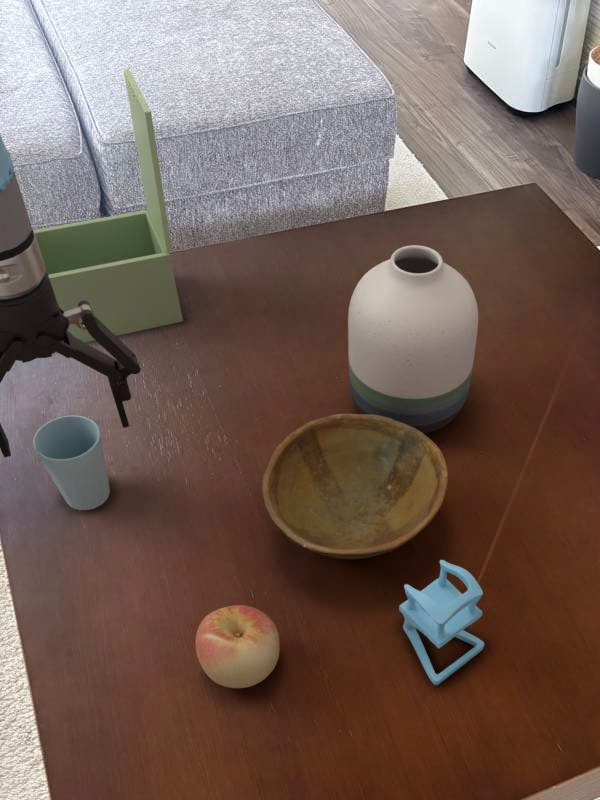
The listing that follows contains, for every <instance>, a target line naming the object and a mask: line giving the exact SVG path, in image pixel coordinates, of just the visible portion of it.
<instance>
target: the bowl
mask: <svg viewBox="0 0 600 800" xmlns="http://www.w3.org/2000/svg"><path fill="white" fill-rule="evenodd" d="M448 480H449V470H448V465H447V461H446V458H445V457H444V455H443V452H442V450H441V449H440V448H439V446H438V445H437V444H436V443H435V442H434V441H433V440H432V439H431V438H429V437H428V436H427V435H426V434H423V433H422V432H420V431H419V430H417V429H415V428H413V427H411V426H409V425H406V424H404V423H401V422H398V421H396V420H393V419H391V418H387V417H383V416H379V415H366V414H362V413H337V414H331V415H329V416H324V417H320V418H316V419H312V420H310V421H308V422H306V423H304V424H303V425H301V426H299V427H298V428H296V429H295V430H293V431H291V432H290V433H289V434H288V435H287V436H286V437H284V439H282V441H281V442H280V443H279V444H278V445H277V446H276V447H275V448H274V451H273V453H272V454H271V456H270V458H269V460H268V464H267V466H266V467H265V470H264V472H263V474H262V477H261V495H262V496H261V497H262V500H263V504H264V506H265V509H266V510H267V511H266V512H267V513H268V516H269V519H270V520H271V522H272V523H273V524H274V525H275V526H276V528H277V529H278V530H279V531H280V533H282V534H283V536H284V537H286V538H287V539H288V540H289V541H291V542H293V543H294V544H296V545H297V546H299V547H300V548H303V549H306V550H307V551H310V552H313V553H315V554H318V555H321V556H324V557H328V558H334V559H342V560H361V559H369V558H373V557H378V556H380V555H384V554H388V553H389V552H393V551H394V550H397V549H398V548H401V547H402V546H403V545H405V544H406V543H408V542H409V541H411V540H413V538H415V537H416V536H417V535H418V534H419V533H421V532H422V531H423V530H424V529H425V528H426V527H427V526H428V525H429V524H430V523H431V522H432V521H433V520H434V519H435V517H436V516H437V514H438V512H440V511H439V510H440V509H441V507H442V505H443V502H444V499H445V496H446V493H447V489H448V485H449V481H448Z"/></svg>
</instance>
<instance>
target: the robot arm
mask: <svg viewBox="0 0 600 800" xmlns="http://www.w3.org/2000/svg"><path fill="white" fill-rule="evenodd" d="M33 230H34V229H33V226H32V223H31V220H30V216H29V214H28V209H27V207H26V204H25V201H24V197H23V193H22V192H21V188H20V185H19V182H18V179H17V175H16V172H15V167H14V161H13V159H12V157H11V154H10V151H9V150H8V148H7V146H6V145H5V142H4V140H3V137H2V135H1V134H0V384H1V383H2V381H3V379H4V378H5V376H6V374H7V373H9V372H10V371H11V369H12V368H13V366H14V364H15V363H16V361H19V362H21V363H22V364H24V363H30V362H32V361H34V360H37V359H47V358H52V357H53V354H55V353H57V354H59V355H61V356H63V357H65V358H67V359H70V358H71V359H74V360H75V361H77V362H79V363H81V364H83V365H84V366H87V367H88V368H90V369H92V370H94V371H96V372H98V373H100V374H102V375H104V376H106V377H107V379H108V383H109V387H110V390H111V394H112V396H113V400H114V403H115V407H116V409H117V413H118V416H119V420H120V423H121V425H122V428H123V429H124V428H129V427H130V423H129V419H128V416H127V412H126V410H125V406H124V402H127V401H130V400H131V399H132V394H131V390H130V387H129V384H128V377H129V376H130V375H138V374H139V373H140V372H141V371H142V370H141V366H140V364H139V363H140V362H139V361H138V358H137V355H136V354H135V353H134V352H133V351H132V349H130V348H129V347H128V346H127V345H126V344H125V343H124V342H123V341H121V339H120V338H118V336H115V335H114V334H113V333H112V332H111V331H110V330H109V329H108V328H107V327H106V326H105V325H104V324H103V323H102V322H101V321H100V320H99V319H98V318H97V317H95V315H94V313H93V311H92V308H91V306H90V304H89V302H87V301H85V300H83V301H80V302H79V303H78V308H75V309H72V310H68V311H65V312H64V311H63V310H62V309H61V308H60V307H59V306H58V303H57V300H56V297H55V294H54V291H53V288H52V285H51V282H50V279H49V276H48V274H47V273H46V267H45V264H44V260H43V257H42V254H41V251H40V248H39V245H38V242H37V239H36V236H35V233H34V231H33ZM69 324H76V325H77V326H78V327H79V328H81V329H82V330H86V329H87V331H88V332H89V334H90V335H91V336H92V337H93V338H94V339H95V340H94V341H96V342H97V344H98V345H100V346H101V347H102V348H103V349H105V350H106V351H107V353H108V354H110V355H111V356H112V357H111V356H110V355H108V354H106V353H104V352H103V351H101V350H99V349H97V348H95V347H94V346H93V345H90V344H88V343H87V342H83V341H81V340H79V339H77V338H75V337H74V336H73V335H72V334H71V333H70V332H69V331H67V330H68V328H69ZM0 451H1V454H2V455H3V458H9V457H12V453H11V447H10V443H9V439H8V437H7V435H6V432H5V430H4V428H3V425H2V423H0Z"/></svg>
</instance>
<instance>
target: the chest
mask: <svg viewBox="0 0 600 800" xmlns="http://www.w3.org/2000/svg"><path fill="white" fill-rule="evenodd" d="M33 231H34V233H35V236H36V239H37V242H38V245H39V248H40V251H41V254H42V257H43V260H44V264H45V267H46V273H47V274H48V276H49V279H50V282H51V285H52V288H53V291H54V294H55V297H56V300H57V303H58V306H59V307H60V308H61V309H62V310H63V311H64V312H65V311H68V310H72V309H75V308H78V303H79V302H80V301H83V300H85V301H87V302H89V304H90V306H91V308H92V311H93V313H94V315H95V317H97V318H98V319H99V320H100V321H101V322H102V323H103V324H104V325H105V326H106V327H107V328H108V329H109V330H110V331H111V332H112V333H113V334H114V335H115V336H116V337H118V336H121V335H126V334H130V333H134V332H135V333H136V332H140V331H144V330H149V329H153V328H158V327H163V326H168V325H172V324H176V323H181V322H184V318H183V314H182V309H181V304H180V299H179V294H178V289H177V283H176V278H175V273H174V268H173V263H172V258H171V254H170V252H167V251H166V249H165V247H164V245H163V242H162V240H161V238H160V236H159V233H158V231H157V229H156V226H155V224H154V222H153V220H152V217H151V215H150V213H149V211H148V209H143V210H137V211H132V212H127V213H121V214H116V215H115V214H114V215H111V216H105V217H104V216H103V217H99V218H94V219H93V218H92V219H88V220H81V221H77V222H71V223H65V224H59V225H54V226H49V227H43V228H37V229H33ZM67 331H69V332H70V333H71V334H72V335H73V336H74V337H75V338H77V339H79V340H81V341H83V342H85V343H89V342H94V341H96V340H95V339H94V338H93V337H92V336H91V335H90V334H89V332H88V331H87V329H86V330H82V329H81V328H79V327H78V326H77V325H76V324H69V328H68V330H67Z"/></svg>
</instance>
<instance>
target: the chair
mask: <svg viewBox="0 0 600 800" xmlns="http://www.w3.org/2000/svg"><path fill="white" fill-rule="evenodd" d="M439 566H440V571H439V577H438V578H436V579H435V580H433V581H432V582H431V583H430V584H428V585H427V586H426V587H424V588H423V589H422V590H419V589H416V588H414V587H412V586H411V585H410V584H408V583H405V584H404V585H403V589H404V591H405V595H406V597H407V600H405V601H404V602H402V603H400V605H398V611H399V612H400V613H401V614H402V616H403V618H404V621H403V625H402V629H403V631H404V632H405V634H406V636H407V637H408V639H409V641H410V643H411V644H412V647H413V649H414V651H415V653H416V655H417V657H418V659H419V661H420V663H421V665H422V667H423V669H424V671H425V673H426V675H427V677H428V678H429V680H430V682H431V683H432V684H433V685H434V686H438V685H440V684H441V683H443V682H444V681H445V680H446V679H447V678H449V677H450V676H451V675H452V674H454V673H456V671H458V670H459V669H460V668H461V667H463V666H464V665H465V664H467V663H468V662H469V661H471V659H473V658H474V657H475V656H477V655H478V654H479V653H480V652H482V651H483V649H484V648H485V642H484V641H483V640H482V639H481V638H478V636H475V635H473V634H471V633H469V632H467V631H465V629H466V628H467V627H468V628H469V626H471V625H473V623H475V622H476V621H478V620H479V619H480V618H482V616H483V611H482V609H480V608H479V607H478V606H477V604H478V602H479V601H480V600H481V598H482V596H483V595H484V592H483V591H484V590H483V589H482V587H481V585H480V584H479V582H478V581H477V580H476V578H475V577H474V575H473V574H471V573H470V572H469V571H468V570H467V569H465V568H464V567H461V566H459V565H455V564H452V563H449V562H448V561H446V560H444V559H440V560H439ZM448 573H449V574H451V575H453V576H455V577H457V578H458V579H459V580H460V581H461V582H462V584H464V585H465V587H466V588H467V590H466V591H465V592H464V593H462V592H461V591H460V590H459V589H457V587H456V586H455V585H454V584H453V583H452V582H450V581H449V579H447V577H448V576H447V574H448ZM417 630H418V631H419V632H421V633H422V634H423V635H424V636H425V637H426V638H427V639H428V640H429V641H430V642H431V643H432V644H434V646H435V647H436V648H437V649H440V648H442V647H443V646H444V645H446V644H447V643H448V642H450V641H451V640H452V639H453V638H456V639H458V640H461V641H463V642H465V643H466V644H467V643H468V644H469V645H472V646H473V647H472V648H471V649H469V651H467V652H466V653H464V654H463V655H462V656H461V657H459V658H458V659H457V660H455V661H454V662H452V663H451V664H450V665H448V666H447V667H446V668H444V669H443V670H442V671H441V672H439V673H436V672H435V670H434V666H433V664H432V663H431V659H430V658H429V655H428V653H427V650H426V648H425V646H424V644H423V642H422V639H421V637H420V634H419V632H418V631H417Z"/></svg>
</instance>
